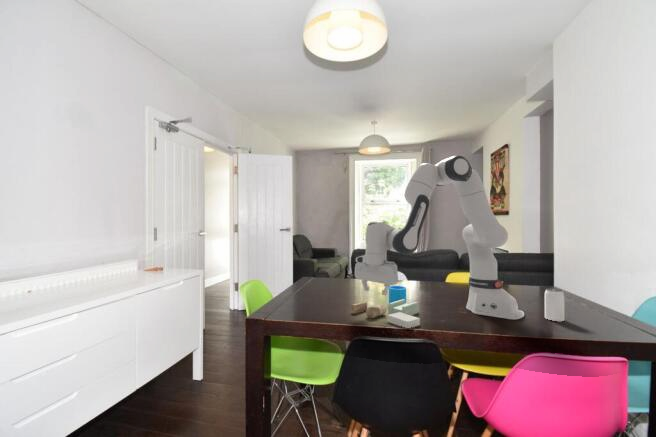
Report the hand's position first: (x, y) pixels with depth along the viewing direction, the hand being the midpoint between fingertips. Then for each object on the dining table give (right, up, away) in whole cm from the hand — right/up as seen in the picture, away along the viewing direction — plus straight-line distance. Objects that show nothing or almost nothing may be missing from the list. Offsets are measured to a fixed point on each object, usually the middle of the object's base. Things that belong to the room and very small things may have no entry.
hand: (375, 292), depth 129 cm
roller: (0, -10, 0) cm, 10 cm away
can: (+72, -10, -4) cm, 73 cm away
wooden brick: (-6, -10, +6) cm, 13 cm away
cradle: (+13, -10, +4) cm, 16 cm away
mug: (+13, -10, +20) cm, 26 cm away
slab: (+9, -10, -9) cm, 17 cm away
